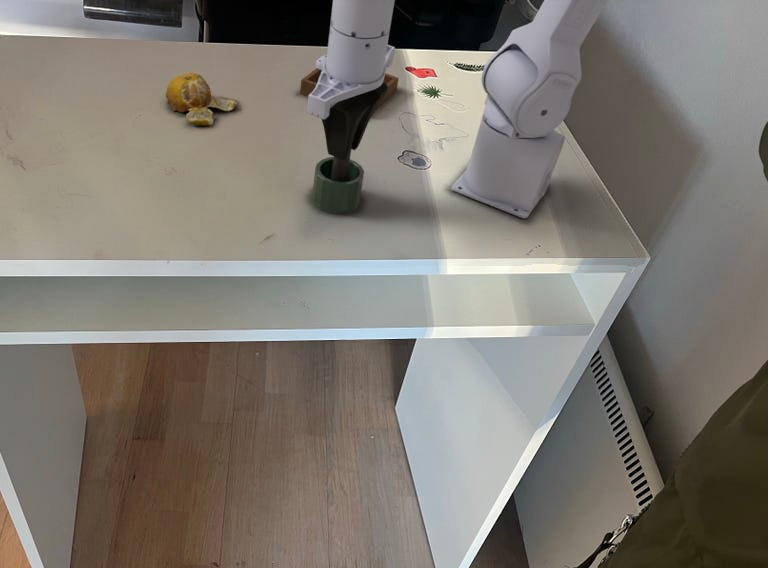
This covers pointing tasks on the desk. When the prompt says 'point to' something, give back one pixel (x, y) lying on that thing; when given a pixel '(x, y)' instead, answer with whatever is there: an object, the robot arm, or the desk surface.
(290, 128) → the desk surface
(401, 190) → the desk surface
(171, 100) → the fruit
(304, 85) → the brown tray
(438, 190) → the desk surface
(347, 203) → the green hollow cylinder
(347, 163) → the marker
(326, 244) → the desk surface
